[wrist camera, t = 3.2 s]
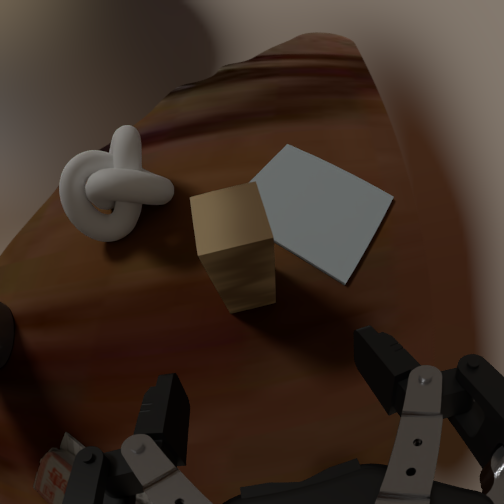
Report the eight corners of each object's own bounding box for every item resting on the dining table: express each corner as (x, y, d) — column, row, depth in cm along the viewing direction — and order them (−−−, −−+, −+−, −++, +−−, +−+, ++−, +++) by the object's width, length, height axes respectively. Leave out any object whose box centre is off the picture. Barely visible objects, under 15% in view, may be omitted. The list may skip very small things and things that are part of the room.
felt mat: (223, 212, 29) (223, 209, 29) (287, 146, 33) (287, 144, 33) (344, 285, 25) (345, 283, 24) (392, 199, 28) (393, 197, 28)
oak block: (230, 313, 24) (197, 255, 15) (222, 272, 26) (189, 197, 16) (275, 302, 24) (273, 237, 15) (264, 262, 26) (255, 181, 17)
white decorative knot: (109, 277, 27) (59, 233, 19) (77, 213, 32) (39, 168, 24) (192, 211, 30) (166, 149, 22) (144, 161, 35) (119, 108, 27)
